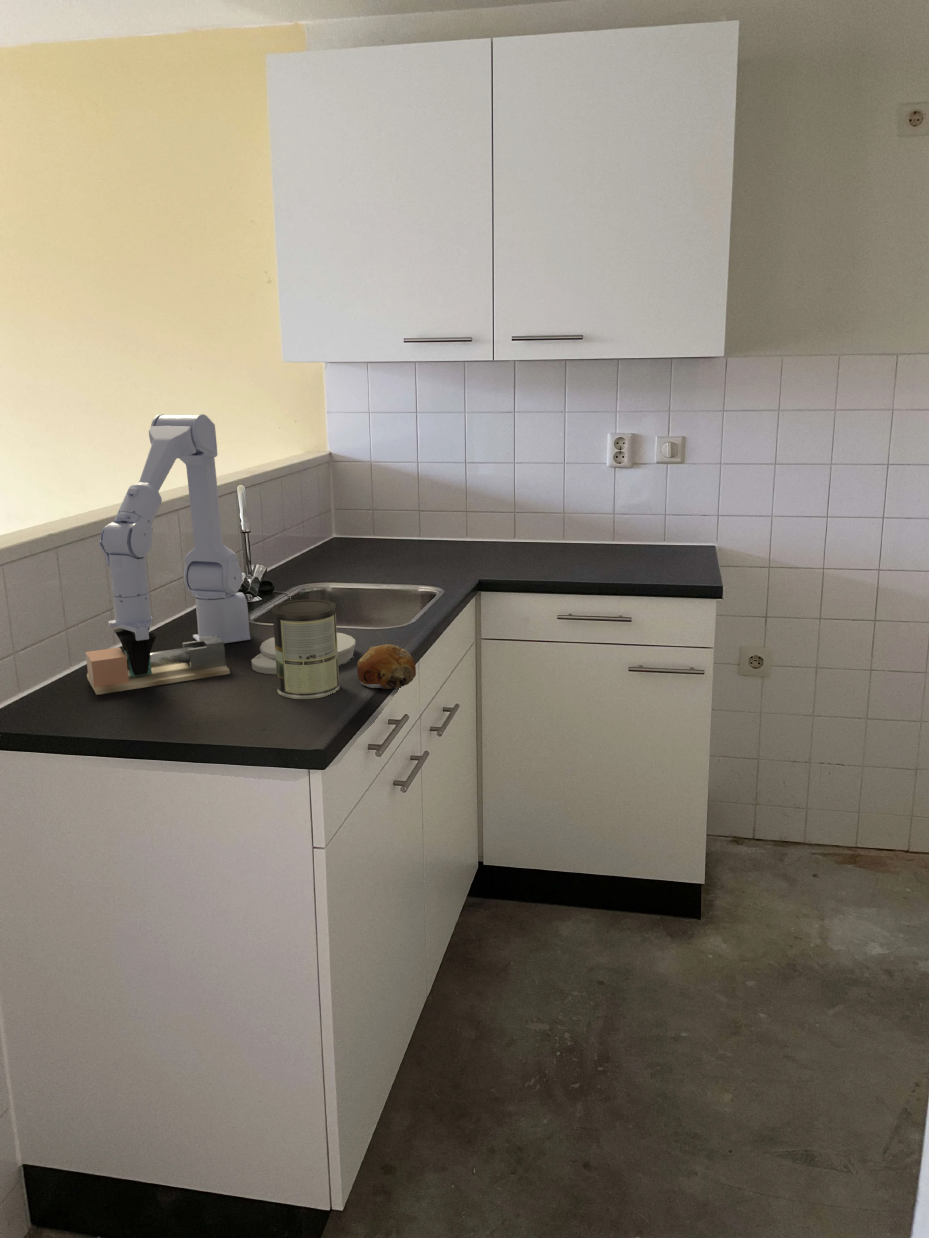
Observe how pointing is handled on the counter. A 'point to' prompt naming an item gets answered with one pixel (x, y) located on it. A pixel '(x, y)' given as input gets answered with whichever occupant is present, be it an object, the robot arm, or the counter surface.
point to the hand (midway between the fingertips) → (138, 671)
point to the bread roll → (386, 666)
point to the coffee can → (306, 648)
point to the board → (161, 677)
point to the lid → (268, 657)
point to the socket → (107, 667)
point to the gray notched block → (205, 653)
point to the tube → (162, 659)
